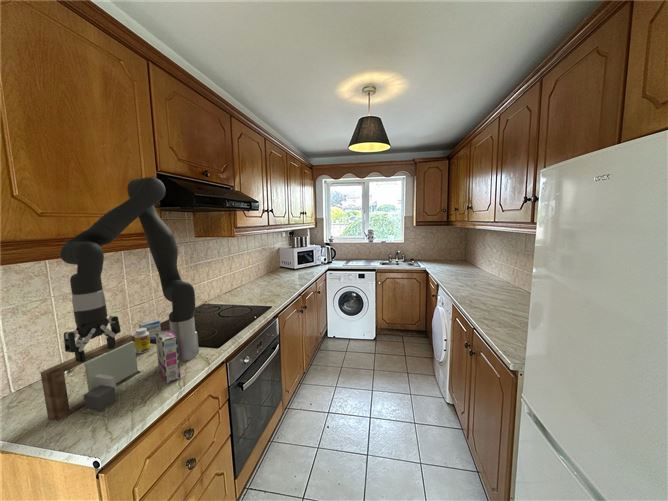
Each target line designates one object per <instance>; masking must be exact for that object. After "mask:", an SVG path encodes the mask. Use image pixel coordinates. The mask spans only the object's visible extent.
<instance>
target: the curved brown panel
mask: <svg viewBox="0 0 668 501" xmlns="http://www.w3.org/2000/svg"><path fill="white" fill-rule="evenodd" d="M133 339H134V337H133V335H132V334H126V335H123V336H121V337H118V338H117V339H116V338H115V342H116V345H115V348H113V349H108V347H107V343H105V344H103V345H100V346H98V347H95V348H93V349H91V350H89V351H86V352H85V359H86V361H85V362H83V363H79V362H77V361H76V358H75V357H72V358H70V359H67V360H66V361H63V362H61V363H59V364H56V365H54V366H52V367H49V368H47V369H44V370H42V371H40V378H41V384H42V389H43V397H44V402H45V403H44V404H45V409H46V413H47V419H49V420H51V421H52V420H53V421H57V422H60V421H61V419H62V420H63V419H65V418H66V417H68V416H70V415H71V414H74V413H75V412H77V411H78V410H80V409H81V407H82V408H83V407H85V400H83V401H81V402H79V403H77V404H76V405H74V406H73V407H70V403H69V397H68V391H67V384H66V378H65V372H67V371H69V370H72V369H74V368H76V367H78V366H80V365H83V364H84V363H86V362H88V361H90V360H92V359H94V358H97V357H99V356H101V355H103V354H105V353H107V352H110V351H112V350H114V349H116V348H118V347H120V346H123V345H125V344H127V343H129V342H131V341H134V340H133ZM140 373H141V370H138V371H137V372H135V373H133V374H132V375H130V376H128V377H126V378H125V379H123V380H121V381H120V382H118V383H116V388H117V387H119V386H121V385H122V384H124V383H125V382H127V381H129V380H130V379H131V378H134V377H136V376H137V375H139V374H140Z"/></svg>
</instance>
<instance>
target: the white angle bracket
mask: <svg viewBox="0 0 668 501" xmlns="http://www.w3.org/2000/svg"><path fill="white" fill-rule="evenodd" d="M83 364H84V371H85V376H86V383H87V393H88V392H89V391H91V390H93V389H95V388H96V387H98V386H100V385H104V386H109V387H115V394H117V392H118V390H117V387H116V383H118V382H120V381H121V380H123V379H125V378H126V377H128V376H130V375H132V374H133V373H135V372H137V371H139V368H138V361H137V353H136V349H135V340H133V341H131V342H129V343H127V344H125V345H123V346H120V347H118V348H116V349H114V350H112V351H110V352H107V353H104V354H102V355H100V356H98V357H95V358H93V359H91V360H89V361H87V362H85V363H83Z"/></svg>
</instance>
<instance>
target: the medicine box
mask: <svg viewBox="0 0 668 501" xmlns="http://www.w3.org/2000/svg"><path fill="white" fill-rule="evenodd" d="M138 327H139V328H138V329H140V328H146V329H147V332H149V337H150V342H151V341H153V340H156V334H155V333H156V332H159V331H162V329H161V321H160V320H159V319H157V318H156V319H153V320H149V321H146V322H142V323H139V324H138Z"/></svg>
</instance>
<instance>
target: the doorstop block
mask: <svg viewBox="0 0 668 501" xmlns="http://www.w3.org/2000/svg"><path fill="white" fill-rule="evenodd" d="M116 394H117V393H115V387H109V386H104V385H100V386H98V387H96V388H95V389H93V390H91V391H89V392H88V391H87V392H86V393H84V394H83V398H84V400H85V406H84V407H85V410H88V409H89V411H94V412H97V413H101V412H103V411H104V410H105V409H107V408H109V407H110V406H112V405H113V404H115V403H116V402H117V395H116ZM84 400H83V401H84ZM114 402H115V403H114ZM111 404H112V405H111ZM108 406H109V407H108Z"/></svg>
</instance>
